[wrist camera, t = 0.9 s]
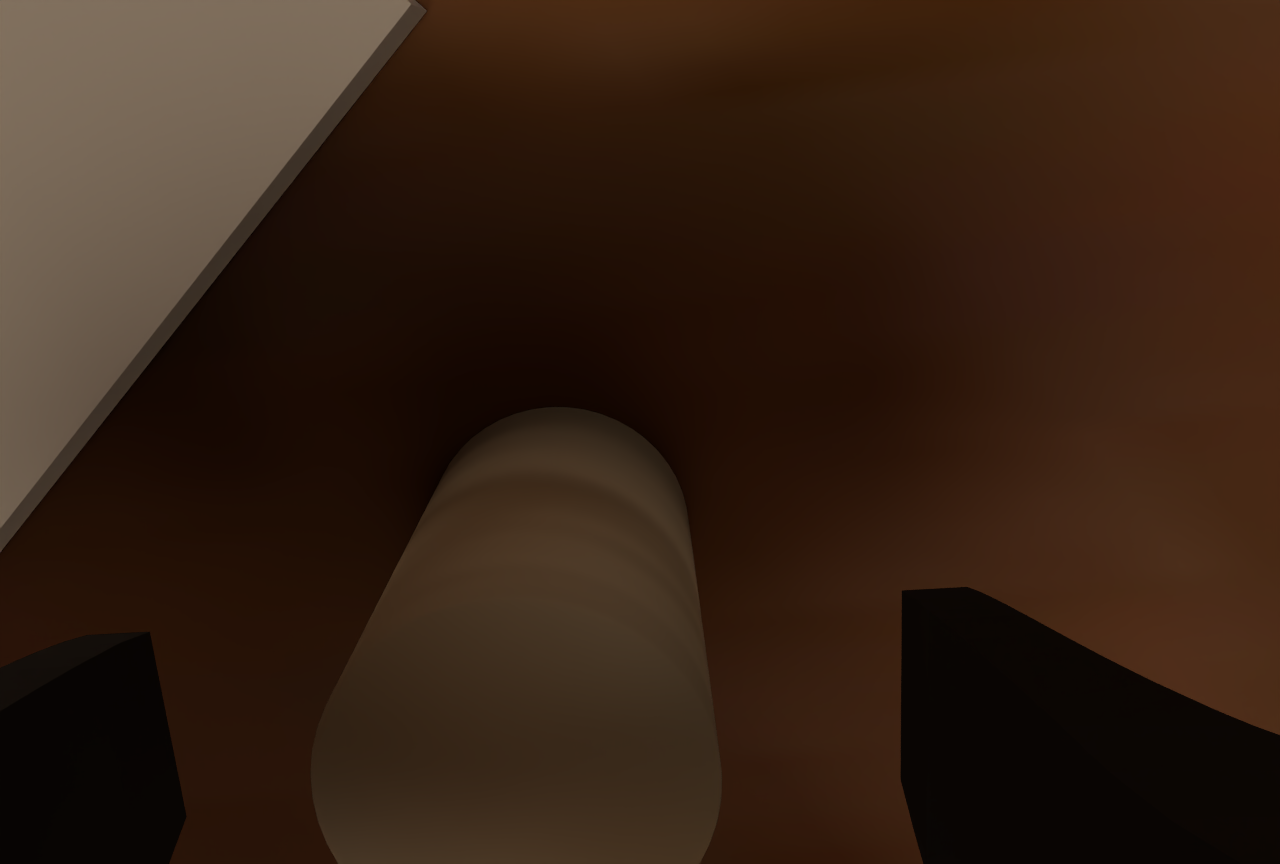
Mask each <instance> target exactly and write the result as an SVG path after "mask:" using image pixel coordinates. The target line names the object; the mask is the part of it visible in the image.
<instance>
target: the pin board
mask: <svg viewBox="0 0 1280 864" xmlns="http://www.w3.org/2000/svg"><path fill="white" fill-rule="evenodd" d="M426 12H427V10H426V9H424V8H423V7H422V6H421V5H420V4H419V3H418V2H417V1H416V0H0V552H1V551H2V550H3V548H4V547H5V546H6V544H7V543H8V542H9V541H10V539H11V538H12V537H13V536H14V534H15V533H16V532H17V531H18V529H19V528H20V527H21V525H22V524H23V523H24V522H25V520H26V519H27V518H28V517H29V515H30V514H31V513H32V511H33V510H34V509H35V508H36V506H37V505H38V504H39V503H40V501H41V500H42V499H43V498H44V496H45V495H46V494H47V492H48V491H49V490H50V489H51V487H52V486H53V485H54V484H55V482H56V481H57V480H58V478H59V477H60V476H61V475H62V473H63V472H64V471H65V470H66V468H67V467H68V466H69V465H70V463H71V462H72V461H73V459H74V458H75V457H76V456H77V454H78V453H79V452H80V451H81V449H82V448H83V447H84V446H85V444H86V443H87V442H88V440H89V439H90V438H91V437H92V435H93V434H94V433H95V432H96V430H97V429H98V428H99V426H100V425H101V424H102V423H103V421H104V420H105V419H106V418H107V416H108V415H109V414H110V413H111V411H112V410H113V409H114V407H115V406H116V405H117V404H118V402H119V401H120V400H121V399H122V397H123V396H124V395H125V393H126V392H127V391H128V390H129V388H130V387H131V386H132V385H133V383H134V382H135V381H136V380H137V378H138V377H139V376H140V374H141V373H142V372H143V371H144V369H145V368H146V367H147V366H148V364H149V363H150V362H151V360H152V359H153V358H154V357H155V355H156V354H157V353H158V352H159V350H160V349H161V348H162V347H163V345H164V344H165V343H166V341H167V340H168V339H169V338H170V336H171V335H172V334H173V333H174V331H175V330H176V329H177V328H178V326H179V325H180V324H181V322H182V321H183V320H184V319H185V317H186V316H187V315H188V314H189V312H190V311H191V310H192V308H193V307H194V306H195V305H196V303H197V302H198V301H199V300H200V298H201V297H202V296H203V295H204V293H205V292H206V291H207V289H208V288H209V287H210V286H211V284H212V283H213V282H214V281H215V279H216V278H217V277H218V275H219V274H220V273H221V272H222V270H223V269H224V268H225V267H226V265H227V264H228V263H229V262H230V260H231V259H232V258H233V256H234V255H235V254H236V253H237V251H238V250H239V249H240V248H241V246H242V245H243V244H244V243H245V241H246V240H247V239H248V237H249V236H250V235H251V234H252V232H253V231H254V230H255V229H256V227H257V226H258V225H259V223H260V222H261V221H262V220H263V218H264V217H265V216H266V215H267V213H268V212H269V211H270V210H271V208H272V207H273V206H274V204H275V203H276V202H277V201H278V199H279V198H280V197H281V196H282V194H283V193H284V192H285V190H286V189H287V188H288V187H289V185H290V184H291V183H292V182H293V180H294V179H295V178H296V177H297V175H298V174H299V173H300V171H301V170H302V169H303V168H304V166H305V165H306V164H307V163H308V161H309V160H310V159H311V158H312V156H313V155H314V154H315V152H316V151H317V150H318V149H319V147H320V146H321V145H322V144H323V142H324V141H325V140H326V138H327V137H328V136H329V135H330V133H331V132H332V131H333V130H334V128H335V127H336V126H337V125H338V123H339V122H340V121H341V119H342V118H343V117H344V116H345V114H346V113H347V112H348V111H349V109H350V108H351V107H352V105H353V104H354V103H355V102H356V100H357V99H358V98H359V97H360V95H361V94H362V93H363V92H364V90H365V89H366V88H367V86H368V85H369V84H370V83H371V81H372V80H373V79H374V78H375V76H376V75H377V74H378V72H379V71H380V70H381V69H382V67H383V66H384V65H385V64H386V62H387V61H388V60H389V59H390V57H391V56H392V55H393V53H394V52H395V51H396V50H397V48H398V47H399V46H400V45H401V43H402V42H403V41H404V40H405V38H406V37H407V36H408V34H409V33H410V32H411V31H412V29H413V28H414V27H415V26H416V24H417V23H418V22H419V20H420V19H421V18H422V17H423V15H424V14H425V13H426Z"/></svg>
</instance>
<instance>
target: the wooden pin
mask: <svg viewBox="0 0 1280 864" xmlns="http://www.w3.org/2000/svg"><path fill="white" fill-rule="evenodd" d="M311 785H312V797H313V802H314V806H315V810H316V815H317V819H318V822H319V825H320V827H321V830H322V832H323V835H324V837H325V840H326V843H327V844H328V846H329V848H330V850H331V852H332V853H333V855H334V857H335V859H336V860H337V862H338V864H700V862H701V860H702V858H703V856H704V854H705V852H706V850H707V848H708V846H709V844H710V841H711V838H712V835H713V832H714V829H715V826H716V823H717V819H718V814H719V808H720V803H721V789H722V772H721V764H720V755H719V747H718V740H717V732H716V725H715V717H714V710H713V702H712V694H711V687H710V679H709V672H708V664H707V657H706V649H705V641H704V634H703V626H702V619H701V611H700V604H699V596H698V589H697V581H696V573H695V566H694V558H693V551H692V543H691V536H690V528H689V520H688V513H687V507H686V503H685V499H684V495H683V492H682V490H681V487H680V485H679V483H678V480H677V478H676V476H675V474H674V473H673V471H672V469H671V468H670V466H669V464H668V463H667V462H666V460H665V459H664V458H663V457H662V455H661V454H660V453H659V451H658V450H657V449H656V448H655V447H654V446H653V445H652V444H651V443H649V442H648V441H647V440H646V439H645V438H644V437H643V436H641V435H640V434H639V433H637V432H636V431H634V430H633V429H632V428H630V427H628V426H626V425H625V424H623V423H621V422H619V421H617V420H615V419H613V418H610V417H608V416H605V415H603V414H600V413H596V412H592V411H588V410H584V409H577V408H569V407H547V408H538V409H531V410H527V411H524V412H520V413H516V414H513V415H511V416H508V417H506V418H503V419H501V420H499V421H497V422H495V423H493V424H491V425H490V426H488V427H486V428H485V429H483V430H482V431H481V432H479V433H478V434H477V435H475V436H474V437H472V438H471V439H470V440H469V441H468V442H467V443H466V444H465V445H464V446H463V447H462V448H461V449H460V450H459V452H458V453H457V454H456V455H455V457H454V458H453V459H452V461H451V462H450V463H449V465H448V467H447V469H446V471H445V472H444V474H443V476H442V478H441V480H440V482H439V484H438V486H437V488H436V490H435V491H434V493H433V495H432V497H431V499H430V501H429V503H428V505H427V507H426V509H425V511H424V513H423V515H422V517H421V519H420V521H419V523H418V525H417V527H416V529H415V531H414V533H413V535H412V537H411V539H410V541H409V543H408V545H407V547H406V549H405V551H404V553H403V554H402V556H401V558H400V560H399V562H398V564H397V566H396V568H395V570H394V572H393V574H392V576H391V578H390V580H389V582H388V584H387V586H386V588H385V590H384V592H383V594H382V596H381V598H380V600H379V602H378V604H377V606H376V608H375V610H374V612H373V614H372V616H371V617H370V619H369V621H368V623H367V625H366V627H365V629H364V631H363V633H362V635H361V637H360V639H359V641H358V643H357V645H356V647H355V649H354V651H353V653H352V655H351V657H350V659H349V661H348V663H347V665H346V667H345V669H344V671H343V673H342V675H341V677H340V679H339V680H338V682H337V684H336V686H335V688H334V690H333V692H332V694H331V696H330V698H329V700H328V702H327V704H326V706H325V709H324V712H323V714H322V717H321V719H320V722H319V725H318V727H317V731H316V736H315V740H314V745H313V749H312V761H311Z"/></svg>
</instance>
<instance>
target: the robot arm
mask: <svg viewBox="0 0 1280 864" xmlns="http://www.w3.org/2000/svg"><path fill="white" fill-rule="evenodd" d="M901 782H902V786H903V790H904V794H905V798H906V802H907V805H908V809H909V813H910V817H911V821H912V825H913V829H914V832H915V836H916V839H917V843H918V846H919V850H920V853H921V857H922V860H923V864H1280V735H1278V734H1275V733H1272V732H1269V731H1267V730H1264V729H1261V728H1258V727H1256V726H1253V725H1251V724H1248V723H1246V722H1243V721H1241V720H1238V719H1236V718H1234V717H1231V716H1229V715H1226V714H1224V713H1221V712H1219V711H1217V710H1214V709H1212V708H1210V707H1208V706H1206V705H1203V704H1201V703H1199V702H1197V701H1195V700H1192V699H1190V698H1188V697H1186V696H1184V695H1181V694H1179V693H1177V692H1175V691H1173V690H1170V689H1168V688H1166V687H1164V686H1162V685H1160V684H1157V683H1155V682H1153V681H1151V680H1149V679H1147V678H1145V677H1143V676H1141V675H1139V674H1137V673H1135V672H1133V671H1131V670H1129V669H1127V668H1125V667H1123V666H1121V665H1119V664H1117V663H1115V662H1113V661H1111V660H1109V659H1107V658H1105V657H1103V656H1101V655H1099V654H1097V653H1095V652H1094V651H1092V650H1090V649H1088V648H1086V647H1084V646H1082V645H1080V644H1078V643H1076V642H1075V641H1073V640H1071V639H1069V638H1067V637H1065V636H1063V635H1062V634H1060V633H1058V632H1056V631H1054V630H1052V629H1051V628H1049V627H1047V626H1045V625H1043V624H1041V623H1039V622H1038V621H1036V620H1034V619H1032V618H1030V617H1028V616H1027V615H1025V614H1023V613H1021V612H1019V611H1017V610H1015V609H1014V608H1012V607H1010V606H1008V605H1006V604H1004V603H1002V602H1000V601H998V600H996V599H994V598H992V597H990V596H988V595H986V594H983V593H981V592H979V591H976V590H974V589H971V588H968V587H959V588H940V589H922V590H904V591H902V666H901ZM185 819H186V812H185V807H184V802H183V797H182V792H181V787H180V782H179V777H178V772H177V767H176V762H175V757H174V752H173V747H172V742H171V737H170V732H169V727H168V722H167V717H166V712H165V707H164V702H163V697H162V692H161V687H160V681H159V676H158V671H157V666H156V661H155V656H154V651H153V646H152V641H151V636H150V632H136V633H118V634H100V635H86V636H82V637H79V638H75V639H72V640H69V641H65V642H62V643H60V644H57V645H54V646H51V647H49V648H46V649H44V650H41V651H38V652H36V653H34V654H31V655H29V656H26V657H24V658H22V659H19V660H17V661H15V662H12V663H10V664H8V665H6V666H3V667H1V668H0V864H169V862H170V859H171V856H172V854H173V851H174V848H175V846H176V843H177V840H178V838H179V835H180V832H181V830H182V827H183V824H184V822H185Z"/></svg>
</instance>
